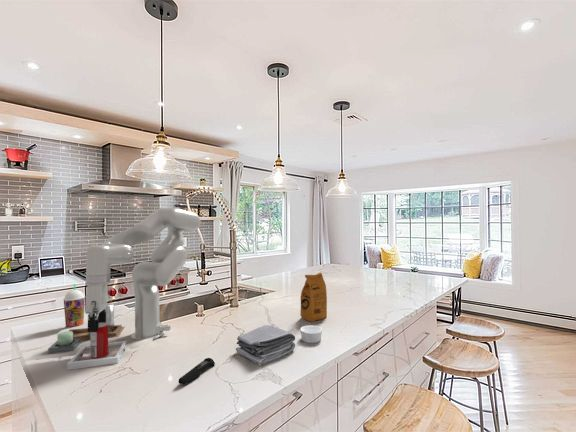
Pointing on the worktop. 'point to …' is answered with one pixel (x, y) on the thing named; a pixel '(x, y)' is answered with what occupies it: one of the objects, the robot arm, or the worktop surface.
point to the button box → (72, 347)
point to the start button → (65, 338)
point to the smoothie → (74, 308)
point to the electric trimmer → (196, 371)
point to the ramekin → (311, 334)
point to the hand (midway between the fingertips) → (97, 327)
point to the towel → (265, 344)
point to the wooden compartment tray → (85, 334)
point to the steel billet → (110, 317)
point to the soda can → (99, 342)
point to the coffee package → (314, 298)
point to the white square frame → (96, 362)
